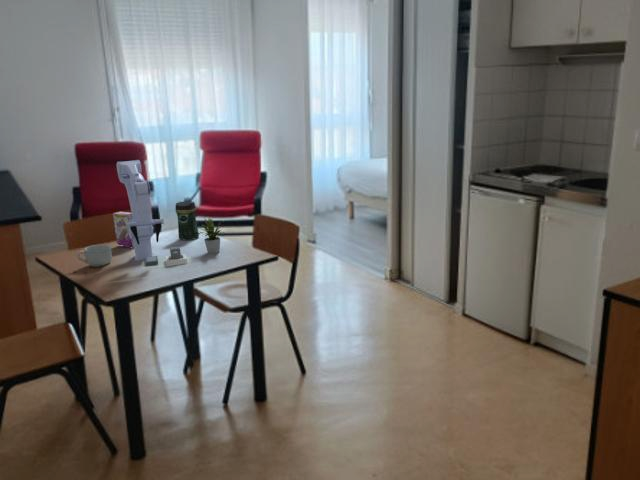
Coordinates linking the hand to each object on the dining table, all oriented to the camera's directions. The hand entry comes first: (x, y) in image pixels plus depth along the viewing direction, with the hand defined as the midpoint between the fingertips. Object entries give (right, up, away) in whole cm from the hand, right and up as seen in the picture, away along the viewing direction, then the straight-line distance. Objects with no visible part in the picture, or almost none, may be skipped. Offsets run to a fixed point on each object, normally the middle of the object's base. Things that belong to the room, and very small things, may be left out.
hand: (148, 242), depth 248 cm
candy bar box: (-21, -2, +40) cm, 45 cm away
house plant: (+23, -4, +20) cm, 31 cm away
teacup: (-25, -10, +8) cm, 28 cm away
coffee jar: (+6, +2, +49) cm, 50 cm away
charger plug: (+11, -8, +5) cm, 14 cm away
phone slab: (0, -8, +6) cm, 10 cm away
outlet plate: (+7, -9, +5) cm, 12 cm away
